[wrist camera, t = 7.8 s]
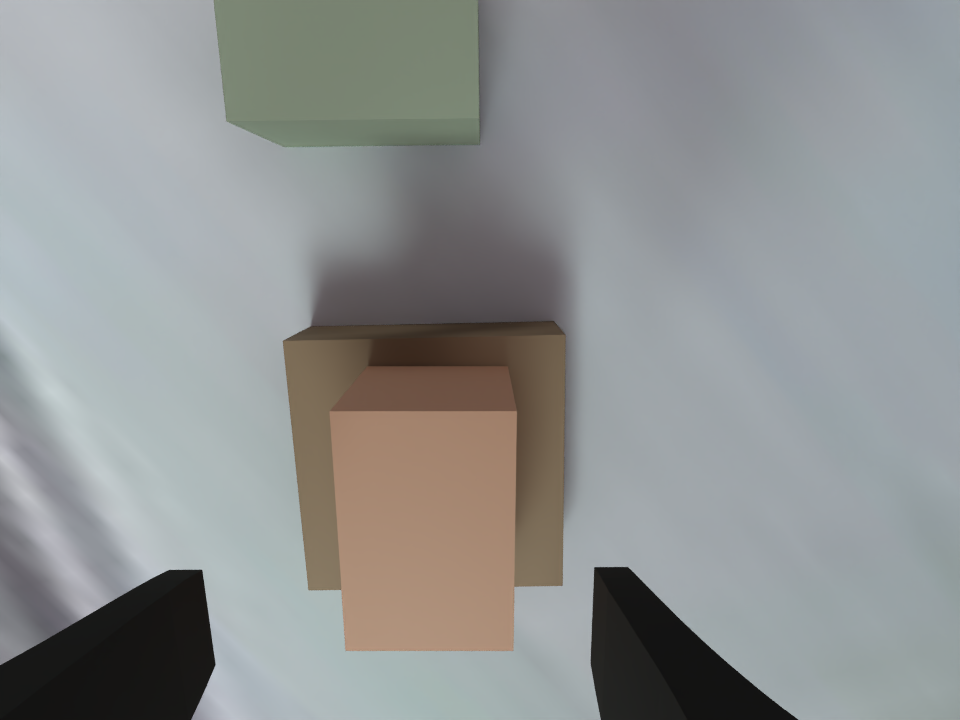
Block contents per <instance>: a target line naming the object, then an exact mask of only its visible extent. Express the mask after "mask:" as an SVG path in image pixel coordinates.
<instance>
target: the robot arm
mask: <svg viewBox="0 0 960 720" xmlns="http://www.w3.org/2000/svg"><path fill="white" fill-rule="evenodd" d="M214 667H215V658H214V651H213V644H212V637H211V629H210V622H209V615H208V608H207V601H206V594H205V587H204V579H203V572H202V570H168V571H166V572H164V573H162V574H160V575H158V576H156V577H154V578H152V579H150V580H148V581H147V582H145V583H143V584H141V585H139V586H138V587H136V588H134V589H132V590H131V591H129V592H127V593H125V594H124V595H122V596H120V597H118V598H117V599H115V600H113V601H112V602H110V603H108V604H106V605H105V606H103V607H101V608H100V609H98V610H96V611H95V612H93V613H91V614H89V615H88V616H86V617H84V618H83V619H81V620H79V621H77V622H76V623H74V624H72V625H71V626H69V627H67V628H65V629H64V630H62V631H60V632H59V633H57V634H55V635H54V636H52V637H50V638H48V639H47V640H45V641H43V642H41V643H40V644H38V645H36V646H34V647H32V648H31V649H29V650H27V651H25V652H23V653H22V654H20V655H18V656H16V657H14V658H13V659H11V660H9V661H7V662H5V663H3V664H2V665H0V720H191V719H192V717H193V714H194V712H195V710H196V708H197V706H198V704H199V702H200V699H201V697H202V695H203V693H204V690H205V688H206V686H207V683H208V681H209V679H210V676H211V674H212V672H213V670H214ZM591 668H592V674H593V679H594V685H595V691H596V696H597V701H598V707H599V712H600V717H601V720H798V719H797V718H795V717H794V716H793V715H791V714H790V713H789V712H787V711H786V710H785V709H783V708H782V707H780V706H779V705H778V704H777V703H775V702H774V701H773V700H772V699H770V698H769V697H768V696H766V695H765V694H764V693H763V692H761V691H760V690H759V689H758V688H757V687H755V686H754V685H753V684H752V683H751V682H749V681H748V680H747V679H746V678H745V677H744V676H742V675H741V674H740V673H739V672H738V671H736V670H735V669H734V668H733V667H732V666H730V665H729V664H728V663H727V662H726V661H725V660H723V659H722V658H721V657H720V656H719V655H718V654H717V653H716V652H715V651H713V650H712V649H711V648H710V647H709V646H708V645H707V644H706V643H705V642H703V641H702V640H701V639H700V638H699V637H698V636H697V635H696V634H695V633H694V632H693V631H692V630H691V629H690V628H689V627H687V626H686V625H685V624H684V623H683V622H682V621H681V620H680V619H679V618H678V617H677V616H676V615H675V614H674V613H673V612H672V611H671V610H670V609H669V608H668V607H667V606H666V605H665V604H664V603H663V602H662V601H661V600H660V599H659V598H658V597H657V596H656V595H655V594H654V593H653V592H652V591H651V590H650V589H649V588H648V587H647V586H646V585H645V584H644V583H643V582H642V581H641V580H640V579H639V578H638V577H637V576H636V575H635V574H634V573H633V572H632V571H631V570H630V569H629V568H628V567H594V592H593V617H592V642H591Z"/></svg>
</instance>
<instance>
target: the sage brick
mask: <svg viewBox="0 0 960 720" xmlns="http://www.w3.org/2000/svg"><path fill="white" fill-rule="evenodd" d="M214 8H215V18H216V27H217V36H218V46H219V55H220V64H221V74H222V83H223V93H224V102H225V111H226V121H227V122H229V123H231V124H234V125H236V126H238V127H240V128H243V129H245V130H247V131H249V132H251V133H254V134H256V135H258V136H260V137H263V138H265V139H267V140H269V141H272V142H274V143H276V144H278V145H281V146H283V147H332V146H413V145H480V121H479V26H478V0H214Z"/></svg>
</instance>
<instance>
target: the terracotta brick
mask: <svg viewBox="0 0 960 720" xmlns="http://www.w3.org/2000/svg"><path fill="white" fill-rule="evenodd" d="M329 412H330V427H331V442H332V457H333V472H334V486H335V501H336V516H337V531H338V545H339V560H340V575H341V590H342V605H343V619H344V634H345V649H346V651H513V641H514V575H515V508H516V442H517V409H516V404H515V399H514V394H513V389H512V384H511V379H510V374H509V369H508V366H367V367H366V369H365V370H364V371H363V372H362V373H361V374H360V376H359V377H358V378H357V379H356V380H355V382H354V383H353V384H352V385H351V386H350V388H349V389H348V390H347V391H346V392H345V393H344V395H343V396H342V397H341V398H340V399H339V401H338V402H337V403H336V404H335V405H334V407H333V408H332V409H331V410H330V411H329Z"/></svg>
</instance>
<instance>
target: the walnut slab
mask: <svg viewBox="0 0 960 720" xmlns="http://www.w3.org/2000/svg"><path fill="white" fill-rule="evenodd" d="M565 338H566V335H565V334H564V332H563V331H562V330H561V329H560V328H559V327H558V326H557V324H556V323H555V322H554V321H542V322H496V323H450V324H404V325H358V326H312V327H309V328H307V329H305V330H303V331H301V332H299V333H297V334H295V335H293V336H291V337H289V338H288V339H286V340H284V341H283V347H284V357H285V366H286V376H287V386H288V395H289V405H290V415H291V425H292V434H293V444H294V454H295V463H296V473H297V483H298V492H299V502H300V512H301V521H302V531H303V541H304V550H305V560H306V570H307V579H308V589H309V590H341V575H340V560H339V545H338V531H337V516H336V501H335V486H334V472H333V457H332V442H331V427H330V412H329V411H330V410H331V409H332V408H333V407H334V405H335V404H336V403H337V402H338V401H339V399H340V398H341V397H342V396H343V395H344V393H345V392H346V391H347V390H348V389H349V388H350V386H351V385H352V384H353V383H354V382H355V380H356V379H357V378H358V377H359V376H360V374H361V373H362V372H363V371H364V370H365V369H366V367H367V366H508V369H509V374H510V379H511V384H512V389H513V394H514V399H515V404H516V409H517V442H516V508H515V575H514V587H519V586H563V504H564V421H565Z"/></svg>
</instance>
